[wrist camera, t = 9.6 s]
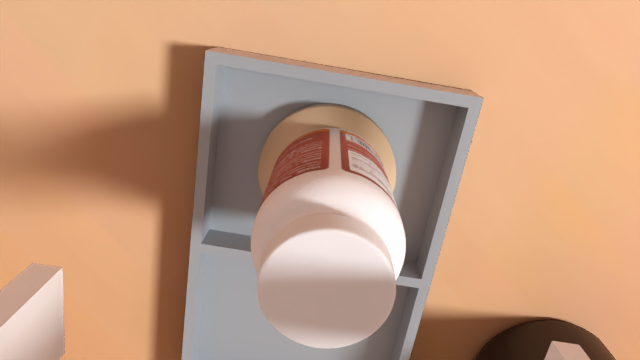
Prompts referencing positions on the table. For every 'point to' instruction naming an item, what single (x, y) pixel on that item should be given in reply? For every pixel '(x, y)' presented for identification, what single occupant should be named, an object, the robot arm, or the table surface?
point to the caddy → (245, 195)
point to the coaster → (324, 118)
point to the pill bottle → (327, 241)
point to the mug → (541, 342)
